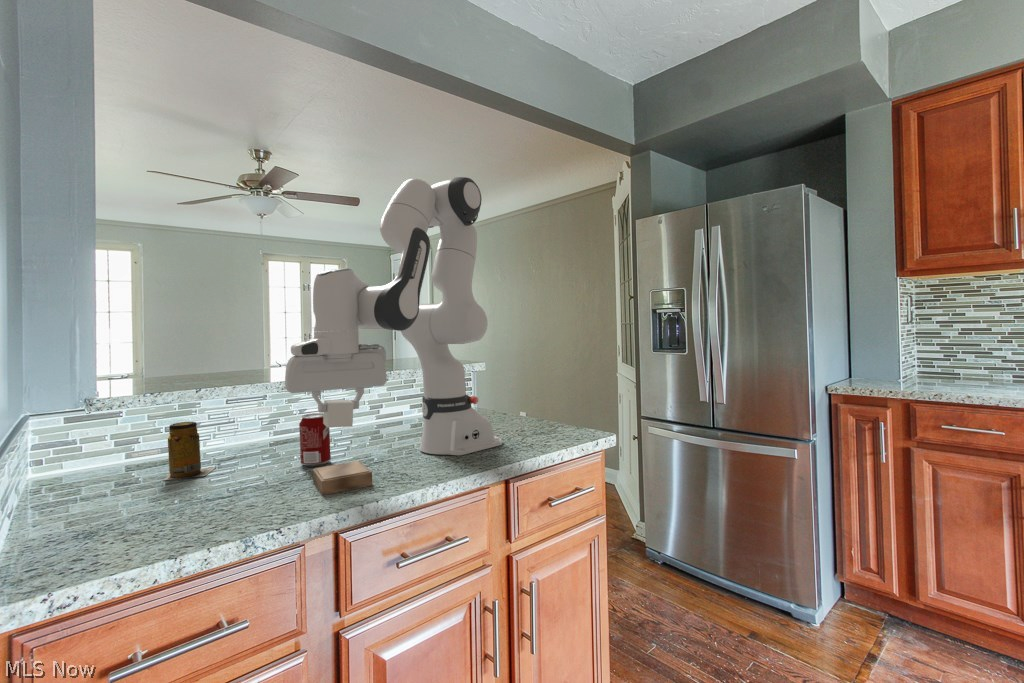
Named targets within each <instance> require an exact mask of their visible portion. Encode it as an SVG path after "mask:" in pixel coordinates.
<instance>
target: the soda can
mask: <svg viewBox="0 0 1024 683" xmlns="http://www.w3.org/2000/svg"><path fill="white" fill-rule="evenodd" d="M323 417H324V412H323V413H319V412H314V413H307V414H306V413H305V414H303V415H301V419H300V422H299V425H298V426H299V447H300V449H299V450H300V451H299V453H300V464H301V465H303V466H306V467H309V468H312V467H313V468H314V467H315V468H316V467H322V466H324V465H326V464H327V463H329V461H331V437H330V434H331V431H330V427H329V428H327V427H326V426H325V425H324V424H323Z"/></svg>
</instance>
